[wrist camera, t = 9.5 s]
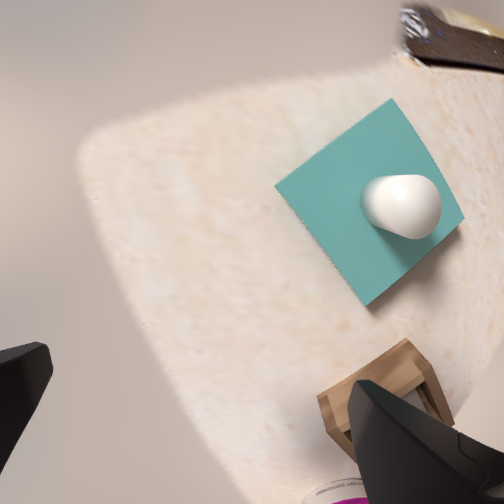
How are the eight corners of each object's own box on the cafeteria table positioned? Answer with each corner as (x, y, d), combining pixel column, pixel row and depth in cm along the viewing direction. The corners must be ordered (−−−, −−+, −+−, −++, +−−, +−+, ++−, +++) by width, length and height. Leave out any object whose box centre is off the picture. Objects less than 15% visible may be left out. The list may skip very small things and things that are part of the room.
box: (404, 335, 21) (431, 365, 16) (432, 394, 22) (455, 423, 18) (316, 393, 22) (326, 432, 17) (357, 442, 23) (370, 477, 19)
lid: (379, 105, 17) (424, 79, 12) (448, 214, 19) (503, 226, 13) (272, 185, 19) (281, 185, 13) (355, 295, 20) (390, 335, 14)
